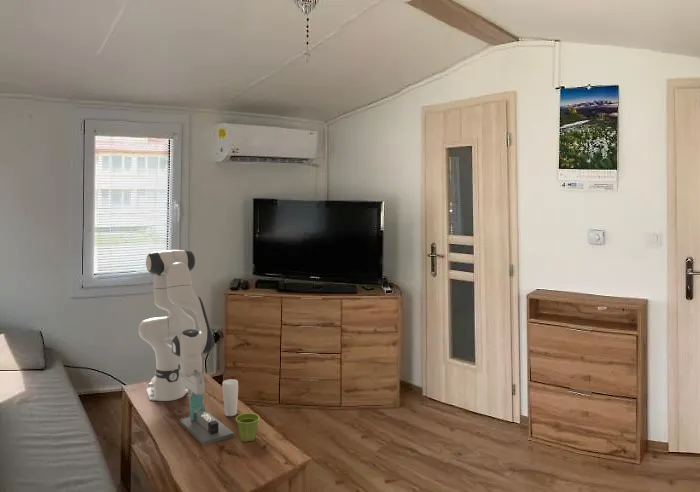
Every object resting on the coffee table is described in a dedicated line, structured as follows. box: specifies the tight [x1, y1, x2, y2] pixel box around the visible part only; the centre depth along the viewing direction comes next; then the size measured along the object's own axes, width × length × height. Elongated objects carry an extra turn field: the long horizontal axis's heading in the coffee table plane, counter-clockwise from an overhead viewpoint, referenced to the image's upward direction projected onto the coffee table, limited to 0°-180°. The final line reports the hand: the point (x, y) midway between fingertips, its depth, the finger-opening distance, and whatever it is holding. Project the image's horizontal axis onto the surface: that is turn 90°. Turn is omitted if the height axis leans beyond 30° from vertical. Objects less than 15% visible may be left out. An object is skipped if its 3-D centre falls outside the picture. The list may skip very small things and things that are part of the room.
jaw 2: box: [200, 410, 219, 433], centre depth 224 cm, size 16×2×4 cm, turn 38°
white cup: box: [222, 378, 239, 417], centre depth 240 cm, size 7×7×15 cm
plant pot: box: [235, 412, 261, 443], centre depth 217 cm, size 9×9×9 cm
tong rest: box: [178, 409, 235, 446], centre depth 225 cm, size 26×13×4 cm, turn 38°
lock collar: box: [188, 394, 206, 420], centre depth 232 cm, size 3×6×10 cm, turn 128°
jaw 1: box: [196, 410, 215, 434], centre depth 224 cm, size 16×2×4 cm, turn 38°
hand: (192, 398), depth 235 cm, fingers closed
